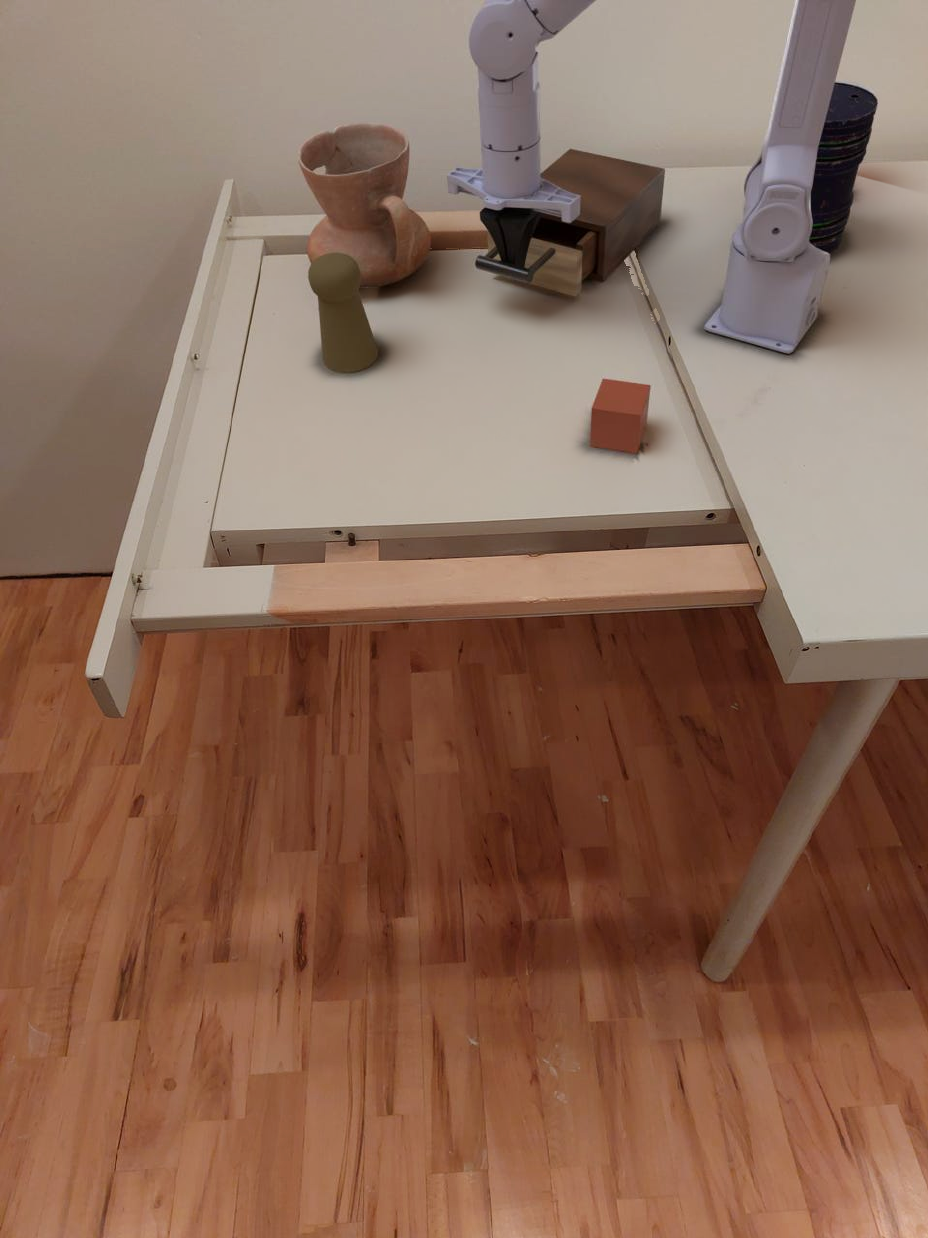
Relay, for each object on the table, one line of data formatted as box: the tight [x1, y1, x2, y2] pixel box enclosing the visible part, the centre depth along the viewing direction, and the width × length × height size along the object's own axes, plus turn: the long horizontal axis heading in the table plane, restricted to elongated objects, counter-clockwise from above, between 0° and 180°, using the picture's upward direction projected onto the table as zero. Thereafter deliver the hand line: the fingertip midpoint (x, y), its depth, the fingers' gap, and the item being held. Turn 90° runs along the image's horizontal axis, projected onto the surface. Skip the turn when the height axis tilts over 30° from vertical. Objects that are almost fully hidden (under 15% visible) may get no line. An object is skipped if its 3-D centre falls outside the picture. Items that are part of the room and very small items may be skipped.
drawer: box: [474, 217, 599, 297], centre depth 101 cm, size 20×11×5 cm, turn 146°
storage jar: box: [809, 82, 879, 255], centre depth 99 cm, size 10×10×15 cm
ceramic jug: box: [297, 122, 432, 289], centre depth 102 cm, size 18×14×14 cm
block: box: [589, 378, 652, 454], centre depth 84 cm, size 4×4×4 cm
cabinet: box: [540, 148, 666, 283], centre depth 105 cm, size 15×13×7 cm
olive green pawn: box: [307, 253, 379, 374], centre depth 92 cm, size 6×6×11 cm
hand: (514, 270), depth 97 cm, fingers closed, pressing on drawer
